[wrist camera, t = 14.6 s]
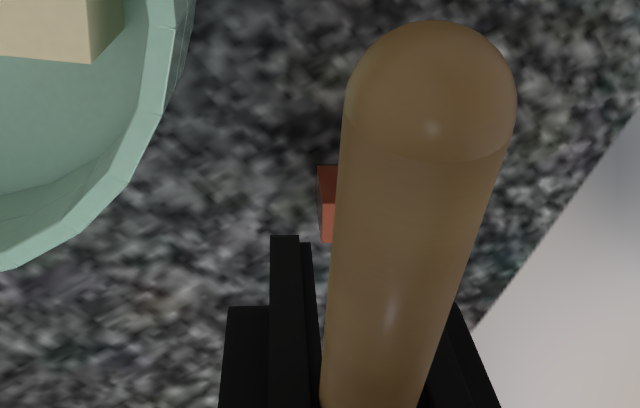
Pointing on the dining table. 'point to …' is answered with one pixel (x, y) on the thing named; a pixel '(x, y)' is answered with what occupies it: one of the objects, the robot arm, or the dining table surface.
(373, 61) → the tan wooden rod
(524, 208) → the dining table surface
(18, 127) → the bowl
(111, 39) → the cream block
